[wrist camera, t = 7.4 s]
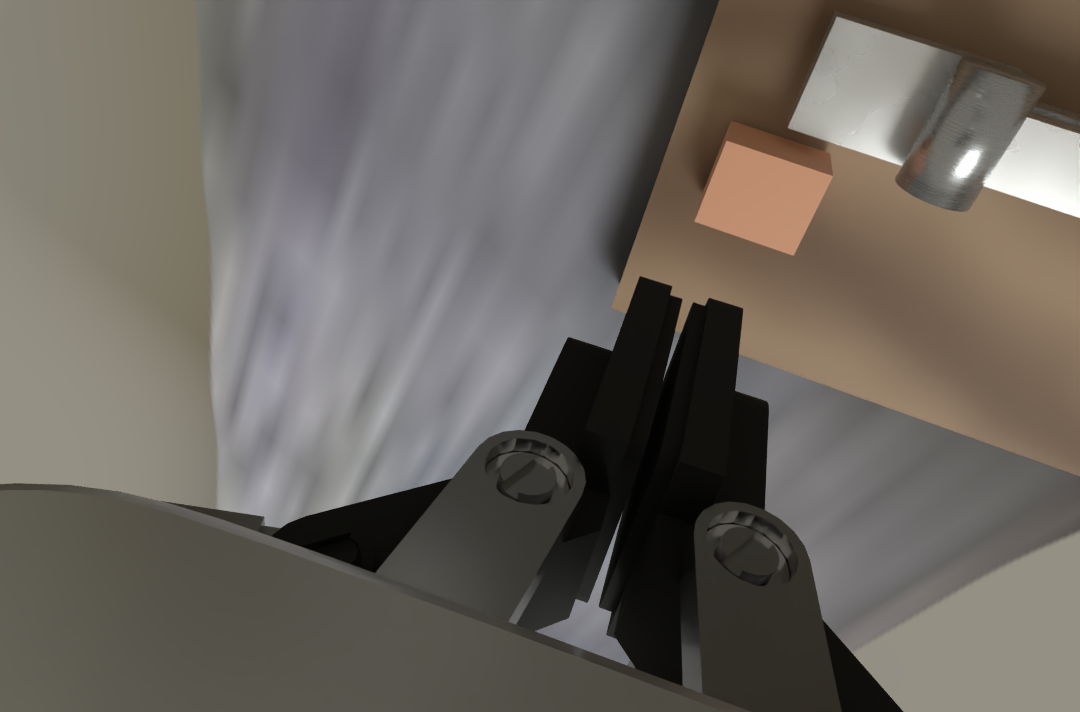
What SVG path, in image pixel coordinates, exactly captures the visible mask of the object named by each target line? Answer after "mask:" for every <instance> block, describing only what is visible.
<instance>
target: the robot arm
mask: <svg viewBox="0 0 1080 712" xmlns="http://www.w3.org/2000/svg"><path fill="white" fill-rule="evenodd" d="M671 290H672V286H670V285H667V284H664V283H661V282H658V281H654V280H651V279H648V278H645V277H642V276H640V277H639V279H638V282H637V285H636V288H635V290H634V293H633V296H632V299H631V302H630V304H629V307H628V310H627V313H626V315H625V318H624V321H623V324H622V327H621V329H620V332H619V335H618V338H617V340H616V343H615V346H614V349H613V351H610V350H607V349H604V348H601V347H598V346H595V345H592V344H589V343H586V342H583V341H580V340H576V339H573V338H570V337H569V338H568V339H567V340H566V342H565V344H564V347H563V349H562V351H561V353H560V355H559V357H558V359H557V362H556V364H555V366H554V368H553V370H552V372H551V375H550V377H549V379H548V381H547V383H546V385H545V388H544V390H543V392H542V394H541V396H540V398H539V401H538V403H537V405H536V407H535V409H534V411H533V413H532V416H531V418H530V420H529V422H528V424H527V426H526V429H525V431H523V430H515V431H506V432H502V433H499V434H496V435H494V436H491V437H489V438H488V439H487V440H485V441H484V442H483V443H482V444H481V445H479V446H478V448H477V449H476V450H475V451H474V453H473V454H472V455H471V456H470V457H469V459H468V460H467V461H466V462H465V464H464V465H463V466H462V467H461V468H460V470H459V471H458V472H457V473H456V475H455V476H454V477H453V478H452V479H448V480H444V481H441V482H437V483H433V484H429V485H425V486H421V487H417V488H413V489H410V490H406V491H402V492H398V493H394V494H390V495H386V496H382V497H379V498H375V499H371V500H367V501H363V502H359V503H355V504H351V505H348V506H344V507H340V508H336V509H332V510H328V511H324V512H320V513H317V514H313V515H309V516H305V517H303V518H300V519H298V520H295V521H293V522H290V523H288V524H286V525H285V526H283V527H282V528H275V527H268V526H265V523H264V517H262V516H256V515H249V514H243V513H236V512H229V511H223V510H216V509H210V508H203V507H197V506H190V505H184V504H176V503H170V502H164V501H158V500H153V499H149V498H145V497H140V496H136V495H132V494H127V493H123V492H119V491H111V490H103V489H95V488H88V487H81V486H73V485H54V484H52V485H51V484H22V483H14V484H0V712H903V711H902V710H901V709H900V707H899V706H898V705H897V704H896V703H895V702H894V701H893V699H892V698H891V697H890V696H889V695H888V694H887V693H886V691H885V690H884V689H883V688H882V687H881V686H880V685H879V684H878V682H877V681H876V680H875V679H874V678H873V677H872V675H871V674H870V673H869V672H868V671H867V670H866V669H865V668H864V666H863V665H862V664H861V663H860V662H859V661H858V660H857V658H856V657H855V656H854V655H853V654H852V653H851V652H850V650H849V649H848V648H847V647H846V646H845V645H844V644H843V642H842V641H841V640H840V639H839V638H838V637H837V636H836V634H835V633H834V632H833V631H832V630H831V629H830V628H829V626H828V625H827V624H826V623H825V622H824V621H823V620H822V615H821V610H820V606H819V601H818V596H817V591H816V587H815V582H814V577H813V572H812V567H811V563H810V559H809V557H808V554H807V551H806V549H805V546H804V545H803V543H802V542H801V540H800V539H799V538H798V536H797V535H796V534H795V532H794V531H793V530H792V529H791V528H789V527H788V526H787V525H786V524H785V523H784V522H783V521H782V520H780V519H779V518H777V517H776V516H774V515H772V514H770V513H769V512H767V511H765V489H766V464H767V440H768V416H769V406H768V403H767V401H764V400H761V399H758V398H755V397H752V396H749V395H746V394H743V393H740V392H737V391H735V385H736V376H737V366H738V357H739V347H740V338H741V329H742V319H743V308H741V307H738V306H734V305H731V304H728V303H725V302H722V301H718V300H715V299H712V298H709V299H708V300H707V303H706V305H705V306H704V305H701V304H697V303H694V302H693V303H692V306H691V308H690V311H689V313H688V316H687V319H686V321H685V324H684V327H683V329H682V332H681V335H680V337H679V340H678V343H677V345H676V348H675V351H674V353H673V356H672V359H671V361H670V364H669V367H668V369H667V372H666V375H665V378H664V374H665V370H666V366H667V362H668V358H669V354H670V350H671V345H672V341H673V337H674V333H675V329H676V325H677V321H678V317H679V313H680V309H681V305H682V300H683V299H682V298H678V297H675V296H672V295H670V294H671ZM663 378H664V380H663ZM662 382H663V383H662ZM622 512H623V513H622ZM621 514H622V517H621ZM620 517H621V521H620V525H619V529H618V532H617V536H616V540H615V544H614V548H613V552H612V556H611V560H610V564H609V568H608V571H607V575H606V579H605V583H604V587H603V591H602V595H601V599H600V603H599V607H600V608H603V609H606V610H608V611H611V612H612V613H611V617H610V622H609V626H608V630H607V634H606V635H608V636H611V637H613V638H616V639H617V640H618V642H619V643H620V645H621V646H622V648H623V649H624V651H625V653H626V654H627V656H628V657H629V659H630V661H629V663H628V665H627V666H626V665H624V664H621V663H618V662H616V661H613V660H610V659H608V658H605V657H602V656H599V655H597V654H594V653H591V652H589V651H586V650H583V649H581V648H578V647H575V646H572V645H570V644H567V643H564V642H562V641H559V640H556V639H553V638H551V637H548V636H545V635H543V634H540V633H537V630H539V629H541V628H544V627H547V626H549V625H552V624H554V623H557V622H559V621H562V620H566V619H567V618H569V616H570V613H571V610H572V607H573V605H574V602H575V599H578V600H581V601H584V602H586V603H587V602H588V600H589V598H590V595H591V593H592V590H593V587H594V585H595V582H596V580H597V577H598V574H599V572H600V569H601V567H602V564H603V561H604V559H605V556H606V554H607V551H608V548H609V546H610V543H611V540H612V538H613V535H614V533H615V530H616V527H617V525H618V522H619V520H620Z"/></svg>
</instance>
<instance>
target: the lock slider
mask: <svg viewBox="0 0 1080 712" xmlns="http://www.w3.org/2000/svg"><path fill="white" fill-rule="evenodd" d="M832 178H833V171H832V163H831V156H830V153H828V152H825V151H822V150H819V149H816V148H813V147H810V146H807V145H804V144H801V143H798V142H795V141H792V140H789V139H786V138H783V137H780V136H777V135H774V134H770V133H767V132H764V131H761V130H758V129H755V128H752V127H749V126H746V125H743V124H740V123H737V122H734V121H731V122H730V125H729V127H728V130H727V132H726V135H725V137H724V140H723V142H722V145H721V148H720V150H719V153H718V155H717V158H716V160H715V163H714V165H713V168H712V170H711V173H710V175H709V178H708V180H707V183H706V185H705V188H704V191H703V193H702V196H701V199H700V202H699V206H698V210H697V213H696V217H695V221H694V222H697V223H700V224H703V225H706V226H708V227H711V228H714V229H717V230H720V231H723V232H726V233H729V234H732V235H735V236H737V237H740V238H743V239H746V240H749V241H752V242H755V243H758V244H761V245H764V246H766V247H769V248H772V249H775V250H778V251H781V252H784V253H787V254H790V255H793V256H794V254H795V252H796V250H797V248H798V246H799V244H800V242H801V240H802V238H803V236H804V234H805V232H806V230H807V228H808V226H809V224H810V222H811V220H812V218H813V216H814V214H815V212H816V210H817V208H818V206H819V204H820V202H821V200H822V198H823V196H824V194H825V192H826V190H827V188H828V186H829V184H830V182H831V180H832Z"/></svg>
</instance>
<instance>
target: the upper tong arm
mask: <svg viewBox="0 0 1080 712" xmlns="http://www.w3.org/2000/svg"><path fill="white" fill-rule="evenodd" d="M1046 88H1047V86H1046V85H1045V84H1044V83H1042V82H1040V81H1039V80H1037V79H1035V78H1033V77H1031V76H1029V75H1026V74H1024V73H1022V72H1019V71H1017V70H1014V69H1011V68H1009V67H1006V66H1003V65H1000V64H997V63H994V62H991V61H987V60H983V59H979V58H975V57H969V56H963V57H962V58H961V60H960V62H959V63H958V65H957V67H956V69H955V71H954V72H953V74H952V76H951V78H950V80H949V82H948V83H947V85H946V87H945V89H944V91H943V92H942V94H941V96H940V98H939V100H938V101H937V103H936V105H935V107H934V109H933V111H932V112H931V114H930V116H929V118H928V120H927V121H926V123H925V125H924V127H923V129H922V130H921V132H920V134H919V136H918V138H917V140H916V141H915V143H914V145H913V147H912V149H911V150H910V152H909V154H908V156H907V158H906V159H905V161H904V163H903V165H902V167H901V169H900V170H899V172H898V174H897V176H896V178H895V181H896V183H897V184H898V185H899V187H901V188H902V189H903V190H904V191H906V192H907V193H909V194H911V195H912V196H914V197H916V198H918V199H920V200H922V201H924V202H927V203H929V204H931V205H934V206H937V207H940V208H943V209H947V210H951V211H957V212H966V211H969V210H970V208H971V207H972V205H973V204H974V202H975V200H976V199H977V197H978V196H979V194H980V193H981V191H982V189H983V188H984V186H985V187H988V188H991V189H994V190H997V191H1000V192H1003V193H1006V194H1009V195H1012V196H1015V197H1018V198H1021V199H1024V200H1027V201H1030V202H1033V203H1036V204H1039V205H1042V206H1045V207H1048V208H1051V209H1054V210H1057V211H1060V212H1063V213H1067V214H1070V215H1073V216H1076V217H1079V218H1080V126H1077V125H1074V124H1071V123H1068V122H1065V121H1062V120H1058V119H1055V118H1052V117H1049V116H1046V115H1043V114H1040V113H1037V112H1033V111H1032V110H1033V109H1034V107H1035V105H1036V104H1037V102H1038V101H1039V99H1040V97H1041V96H1042V94H1043V93H1044V91H1045V90H1046Z"/></svg>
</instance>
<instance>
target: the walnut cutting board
mask: <svg viewBox="0 0 1080 712" xmlns="http://www.w3.org/2000/svg"><path fill="white" fill-rule="evenodd" d="M835 11H838V12H841V13H845V14H848V15H851V16H854V17H857V18H860V19H864V20H867V21H870V22H873V23H876V24H880V25H883V26H886V27H889V28H892V29H896V30H899V31H902V32H905V33H908V34H911V35H915V36H918V37H921V38H924V39H927V40H931V41H934V42H937V43H940V44H943V45H946V46H950V47H953V48H956V49H959V50H962V51H966V52H969V53H972V54H975V55H978V56H981V57H985V58H988V59H991V60H994V61H997V62H1001V63H1004V64H1007V65H1010V66H1013V67H1016V68H1020V69H1021V70H1022V71H1023V72H1025V73H1026V74H1027V75H1029V76H1031V77H1033V78H1035V79H1037V80H1039V81H1040V82H1042V83H1044V84H1045V85H1046V86H1047V88H1046V90H1045V91H1044V93H1043V94H1042V96H1041V97H1040V99H1039V102H1042V103H1045V104H1049V105H1052V106H1055V107H1058V108H1061V109H1064V110H1067V111H1071V112H1074V113H1077V114H1080V0H719V3H718V6H717V8H716V11H715V14H714V17H713V20H712V23H711V25H710V28H709V31H708V34H707V37H706V40H705V43H704V45H703V48H702V51H701V54H700V57H699V60H698V62H697V65H696V68H695V71H694V74H693V77H692V79H691V82H690V85H689V88H688V91H687V94H686V97H685V99H684V102H683V105H682V108H681V111H680V114H679V116H678V119H677V122H676V125H675V128H674V131H673V133H672V136H671V139H670V142H669V145H668V148H667V151H666V153H665V156H664V159H663V162H662V165H661V168H660V170H659V173H658V176H657V179H656V182H655V185H654V187H653V190H652V193H651V196H650V199H649V202H648V204H647V207H646V210H645V213H644V216H643V219H642V222H641V224H640V227H639V230H638V233H637V236H636V239H635V241H634V244H633V247H632V250H631V253H630V256H629V258H628V261H627V264H626V267H625V270H624V273H623V276H622V278H621V281H620V284H619V287H618V290H617V293H616V295H615V298H614V301H613V304H612V307H611V308H612V309H614V310H617V311H620V312H623V313H625V314H626V313H627V310H628V307H629V304H630V302H631V299H632V296H633V293H634V290H635V288H636V285H637V282H638V279H639V277H640V276H642V277H645V278H648V279H651V280H654V281H658V282H661V283H664V284H667V285H670V286H672V290H671V294H670V295H672V296H675V297H678V298H682V299H683V300H682V305H681V309H680V313H679V317H678V321H677V325H676V329H675V331H676V332H679V333H681V332H682V329H683V327H684V324H685V321H686V319H687V316H688V313H689V311H690V308H691V306H692V303H693V302H694V303H697V304H701V305H704V306H705V305H706V303H707V300H708V299H709V298H712V299H715V300H718V301H722V302H725V303H728V304H731V305H734V306H738V307H741V308H743V319H742V329H741V338H740V347H739V354H740V355H743V356H746V357H748V358H751V359H754V360H757V361H759V362H762V363H765V364H768V365H771V366H773V367H776V368H779V369H782V370H785V371H787V372H790V373H793V374H796V375H799V376H801V377H804V378H807V379H810V380H812V381H815V382H818V383H821V384H824V385H826V386H829V387H832V388H835V389H838V390H840V391H843V392H846V393H849V394H852V395H854V396H857V397H860V398H863V399H866V400H868V401H871V402H874V403H877V404H879V405H882V406H885V407H888V408H891V409H893V410H896V411H899V412H902V413H905V414H907V415H910V416H913V417H916V418H919V419H921V420H924V421H927V422H930V423H933V424H935V425H938V426H941V427H944V428H946V429H949V430H952V431H955V432H958V433H960V434H963V435H966V436H969V437H972V438H974V439H977V440H980V441H983V442H986V443H988V444H991V445H994V446H997V447H1000V448H1002V449H1005V450H1008V451H1011V452H1013V453H1016V454H1019V455H1022V456H1025V457H1027V458H1030V459H1033V460H1036V461H1039V462H1041V463H1044V464H1047V465H1050V466H1053V467H1055V468H1058V469H1061V470H1064V471H1066V472H1069V473H1072V474H1075V475H1078V476H1080V218H1079V217H1076V216H1073V215H1070V214H1067V213H1063V212H1060V211H1057V210H1054V209H1051V208H1048V207H1045V206H1042V205H1039V204H1036V203H1033V202H1030V201H1027V200H1024V199H1021V198H1018V197H1015V196H1012V195H1009V194H1006V193H1003V192H1000V191H997V190H994V189H991V188H988V187H985V186H984V188H983V189H982V191H981V193H980V194H979V196H978V197H977V199H976V200H975V202H974V204H973V205H972V207H971V208H970V210H969V211H966V212H957V211H951V210H947V209H943V208H940V207H937V206H934V205H931V204H929V203H927V202H924V201H922V200H920V199H918V198H916V197H914V196H912V195H911V194H909V193H907V192H906V191H904V190H903V189H902V188H901V187H899V185H898V184H897V183H896V181H895V178H896V176H897V174H898V172H899V170H900V169H901V167H902V166H901V165H898V164H895V163H892V162H889V161H885V160H882V159H879V158H876V157H873V156H870V155H867V154H864V153H861V152H858V151H855V150H852V149H849V148H846V147H843V146H840V145H837V144H834V143H831V142H828V141H825V140H822V139H819V138H816V137H813V136H810V135H807V134H804V133H801V132H798V131H795V130H791V129H788V116H789V114H790V112H791V110H792V107H793V105H794V103H795V101H796V98H797V96H798V94H799V91H800V89H801V87H802V85H803V82H804V80H805V78H806V76H807V73H808V71H809V69H810V66H811V64H812V62H813V60H814V57H815V55H816V53H817V50H818V48H819V46H820V44H821V41H822V39H823V37H824V35H825V32H826V30H827V28H828V25H829V23H830V21H831V19H832V16H833V14H834V12H835ZM731 121H734V122H737V123H740V124H743V125H746V126H749V127H752V128H755V129H758V130H761V131H764V132H767V133H770V134H774V135H777V136H780V137H783V138H786V139H789V140H792V141H795V142H798V143H801V144H804V145H807V146H810V147H813V148H816V149H819V150H822V151H825V152H828V153H830V156H831V163H832V171H833V178H832V180H831V182H830V184H829V186H828V188H827V190H826V192H825V194H824V196H823V198H822V200H821V202H820V204H819V206H818V208H817V210H816V212H815V214H814V216H813V218H812V220H811V222H810V224H809V226H808V228H807V230H806V232H805V234H804V236H803V238H802V240H801V242H800V244H799V246H798V248H797V250H796V252H795V254H794V256H793V255H790V254H787V253H784V252H781V251H778V250H775V249H772V248H769V247H766V246H764V245H761V244H758V243H755V242H752V241H749V240H746V239H743V238H740V237H737V236H735V235H732V234H729V233H726V232H723V231H720V230H717V229H714V228H711V227H708V226H706V225H703V224H700V223H697V222H694V221H695V217H696V213H697V210H698V206H699V202H700V199H701V196H702V193H703V191H704V188H705V185H706V183H707V180H708V178H709V175H710V173H711V170H712V168H713V165H714V163H715V160H716V158H717V155H718V153H719V150H720V148H721V145H722V142H723V140H724V137H725V135H726V132H727V130H728V127H729V125H730V122H731Z"/></svg>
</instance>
